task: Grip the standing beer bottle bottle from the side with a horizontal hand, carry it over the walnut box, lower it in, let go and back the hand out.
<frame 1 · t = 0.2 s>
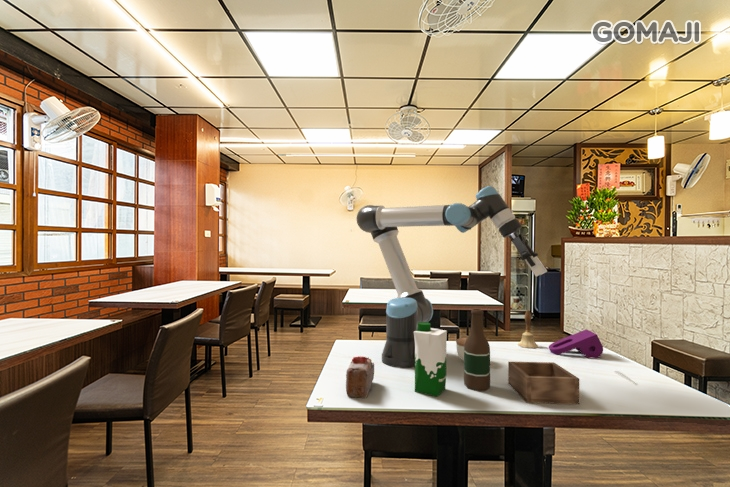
hand: (542, 274, 124), 35 cm above the table, tool tilted 35°, fingers open, 13 cm apart
lidded jar: (470, 361, 137), on the table
milk carton: (430, 391, 109), on the table
hand bell: (527, 346, 160), on the table
mounting bracket: (573, 354, 149), on the table
beer bottle: (476, 387, 112), on the table
food item: (360, 389, 109), on the table
walnut box: (541, 393, 107), on the table
butter knife: (638, 387, 114), on the table
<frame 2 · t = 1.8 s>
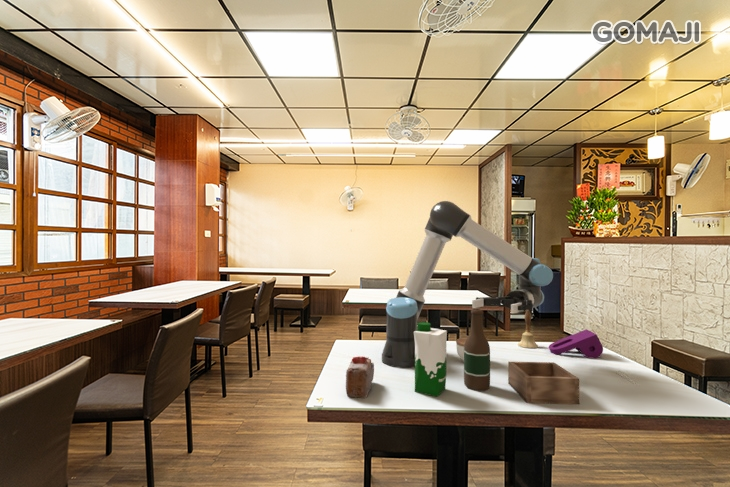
hand: (491, 306, 119), 24 cm above the table, tool horizontal, fingers open, 13 cm apart
nothing on the table moved.
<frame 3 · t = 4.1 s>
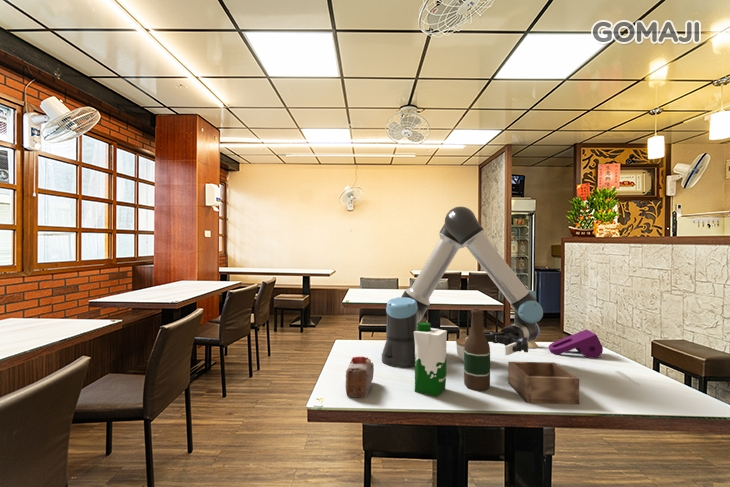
hand: (485, 346, 114), 12 cm above the table, tool horizontal, fingers open, 13 cm apart
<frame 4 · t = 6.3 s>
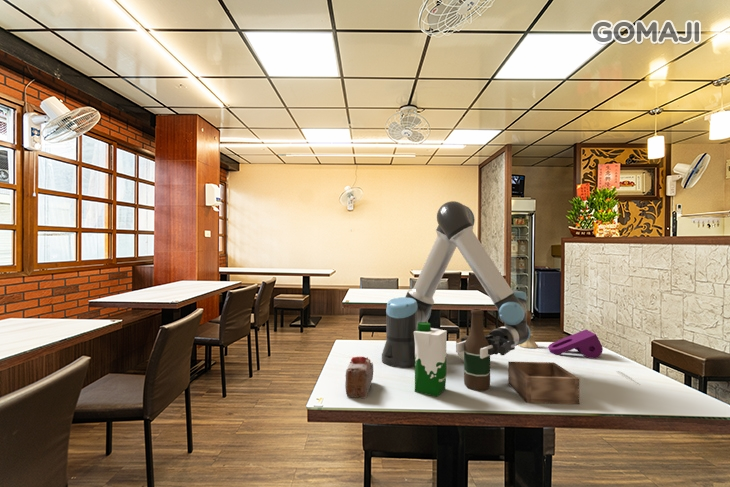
hand: (468, 350, 109), 12 cm above the table, tool horizontal, fingers closed on beer bottle, 7 cm apart
beer bottle: (476, 387, 112), on the table, touching gripper
everything else where it was.
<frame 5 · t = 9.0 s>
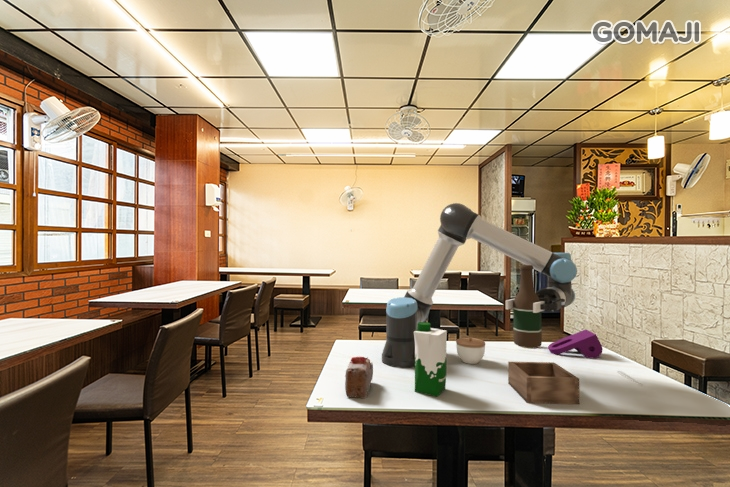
hand: (520, 306, 105), 26 cm above the table, tool horizontal, fingers closed on beer bottle, 7 cm apart
beer bottle: (527, 345, 108), point 14 cm above the table, touching gripper
when the fingers open (14 cm above the table, at t = 11.7 s): beer bottle drops 1 cm, resting on walnut box.
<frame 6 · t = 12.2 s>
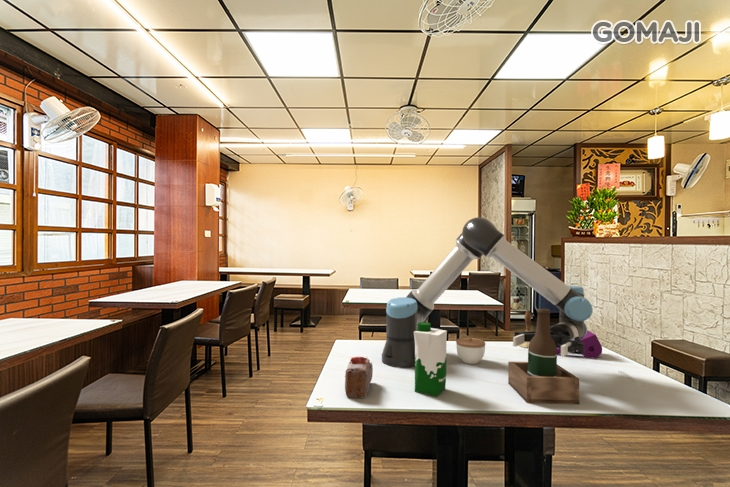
hand: (537, 346, 105), 14 cm above the table, tool horizontal, fingers open, 13 cm apart
beer bottle: (541, 389, 107), point 1 cm above the table, touching walnut box
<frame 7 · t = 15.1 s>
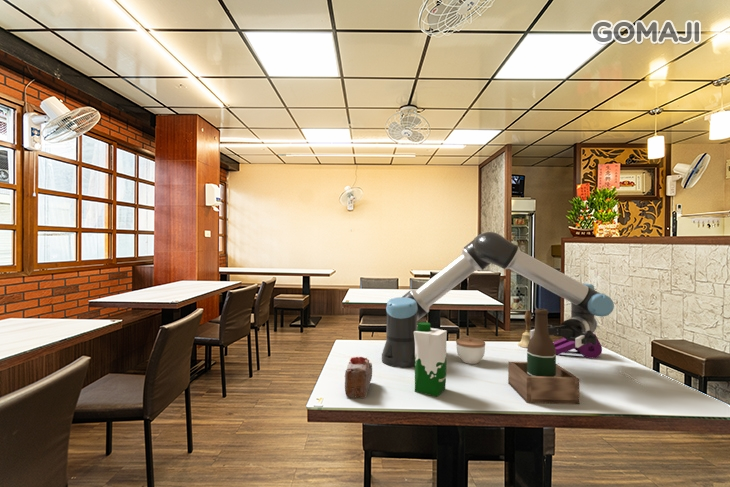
hand: (552, 338, 114), 15 cm above the table, tool horizontal, fingers open, 13 cm apart
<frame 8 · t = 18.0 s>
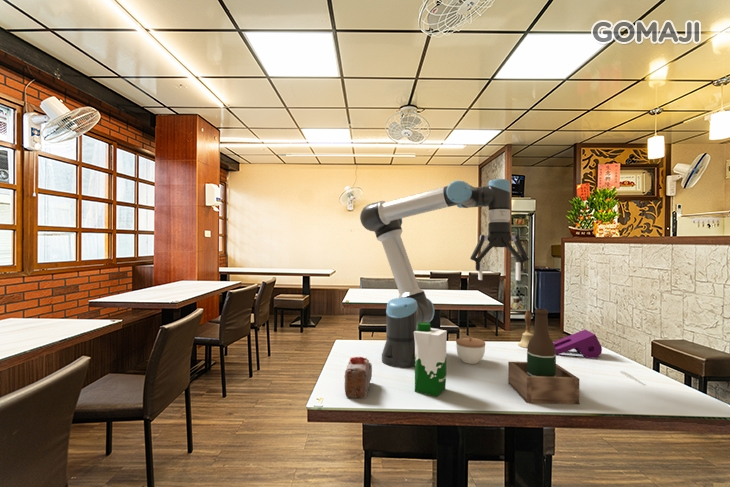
hand: (499, 280, 131), 32 cm above the table, tool pointing down, fingers open, 13 cm apart
at the end: beer bottle 0.1 cm off-centre on the walnut box, point 0.8 cm above the walnut box's base; beer bottle tilted 0°; the gripper is holding nothing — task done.
